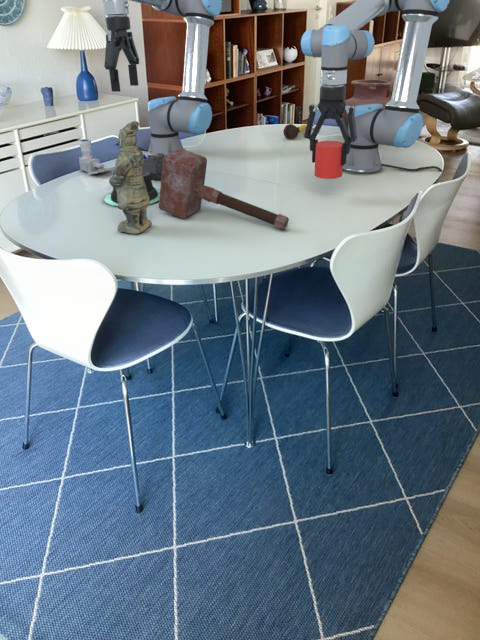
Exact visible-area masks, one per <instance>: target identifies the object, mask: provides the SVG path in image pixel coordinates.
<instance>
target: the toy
mask: <svg viewBox="0 0 480 640" xmlns="http://www.w3.org/2000/svg"><path fill="white" fill-rule="evenodd" d="M142 153H143V156H144V166H143V169H144V170H146V171H147V172H149V173H150V175H151V180H157V181H161V175H162V166H163V158H164V156H165V155H164V154H163V153H158V154H157V155H156V156H155V155H148V154H147V156H146V154H145V153H144V152H143V151H142Z"/></svg>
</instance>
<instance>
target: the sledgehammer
mask: <svg viewBox="0 0 480 640" xmlns="http://www.w3.org/2000/svg"><path fill="white" fill-rule="evenodd" d="M207 164H208V159H207V158H206V157H205V156H203V155H200V154H197V153H195V152H193V151H189V150H186V149H185V150H184V149H179V150H177V151H174V152H172V153H170V154H167V155H165V156H164V158H163V166H162V175H161V179H160V187H159V190H160V198H159V200H158V208H159V210H160V211H162V212H165V213H168V214H170V215H173V216H174V217H177V218H180V219H182V220H185V219H187V218H188V217H190V216H192V215H193V214H195V213H197V212H198V211H199V210H200V209H201V207H202V201H203V200H204V201H207V202H209V203H213V204H215V205H220V206H223V207H225V208H228V209H231V210H233V211H236V212H239V213H241V214H243V215H245V216H248V217H252V218H255V219H257V220H260V221H262V222H264V223H267V224H270V225H273V226H274V228H276V229H280V230H282V231H285V230H286V228H287V227H288V224H289V221H290V218H289V217H288V216H286V215H283V214H281V213H279V214H277V213H275V212H273V211H269V210H267V209H265V208H262V207H259V206H256V205H254V204H251V203H248V202H246V201H244V200H242V199H238V198H236V197H233V196H231V195H228V194H225V193H223V192H222V191H220V190H218V189H215V188H214V187H211V186H208V185H205V181H206V175H207Z"/></svg>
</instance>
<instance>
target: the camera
mask: <svg viewBox="0 0 480 640" xmlns="http://www.w3.org/2000/svg"><path fill="white" fill-rule="evenodd" d="M78 142H79V143H78V144H79V147H80V150H81V156H79V157H78V164H79V169H80V171H82V172H84V173H87V175H88V176H89V175H96V174H100V173H104V172H107V171H112V170H115V166H111V167H106V168H105V165H104V163H101V159H100V158H97V157H94V156H93V151H92V139H90V138H81V139H78Z"/></svg>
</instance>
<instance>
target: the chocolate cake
mask: <svg viewBox="0 0 480 640" xmlns="http://www.w3.org/2000/svg"><path fill="white" fill-rule="evenodd" d="M113 175H114V171H112V173H111V176H113ZM143 178H144V182H145V184H146V188H147V192H148V195H149V197H150V204H154V203H157V202H159V198H160V188H156V187H154V185H153V182H152V179H151V175H150V173H149V172H147V171H146V170H144V169H143ZM103 200H104V202H105V203H106V204H108V205H109V206H115V207H118V202H117V192H116V189H115V188H114V187H112V191H111V193H108V194H107V195H106V196H104V198H103ZM150 204H149V205H150Z"/></svg>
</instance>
